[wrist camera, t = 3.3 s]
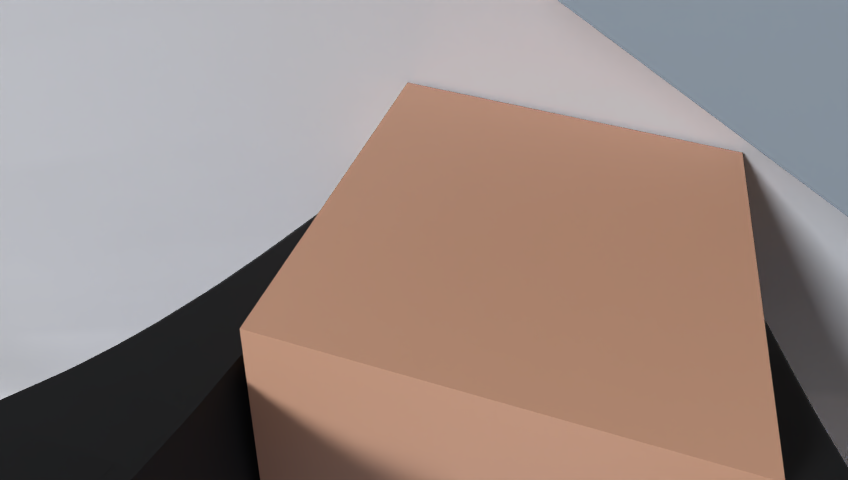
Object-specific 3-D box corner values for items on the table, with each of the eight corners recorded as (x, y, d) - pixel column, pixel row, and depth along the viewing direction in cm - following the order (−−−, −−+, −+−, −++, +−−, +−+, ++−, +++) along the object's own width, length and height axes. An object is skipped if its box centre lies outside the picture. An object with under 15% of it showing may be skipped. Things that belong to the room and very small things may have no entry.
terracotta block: (742, 153, 9) (784, 481, 5) (643, 376, 12) (626, 689, 8) (407, 82, 10) (239, 328, 6) (392, 308, 13) (272, 568, 9)
